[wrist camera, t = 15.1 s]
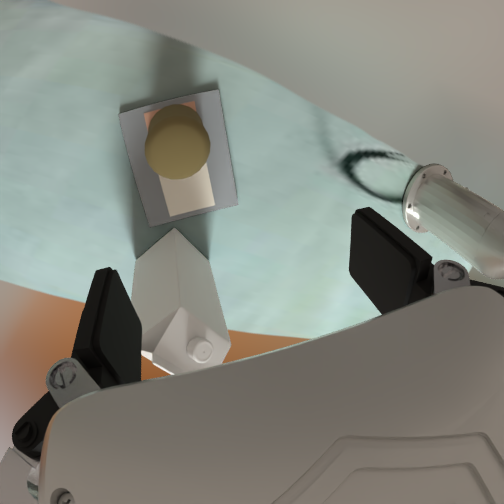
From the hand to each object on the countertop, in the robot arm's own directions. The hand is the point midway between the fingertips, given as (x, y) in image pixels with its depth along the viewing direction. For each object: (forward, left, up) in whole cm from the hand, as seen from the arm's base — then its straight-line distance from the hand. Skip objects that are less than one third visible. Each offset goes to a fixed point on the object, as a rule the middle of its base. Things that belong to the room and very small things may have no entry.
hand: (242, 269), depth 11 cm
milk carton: (+6, +14, -25) cm, 30 cm away
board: (+2, +1, -25) cm, 25 cm away
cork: (+2, -2, -24) cm, 24 cm away
